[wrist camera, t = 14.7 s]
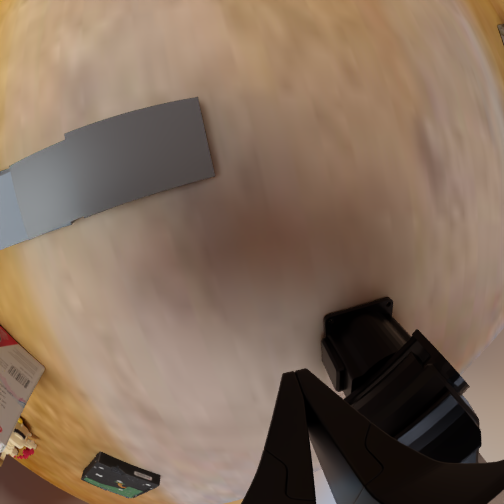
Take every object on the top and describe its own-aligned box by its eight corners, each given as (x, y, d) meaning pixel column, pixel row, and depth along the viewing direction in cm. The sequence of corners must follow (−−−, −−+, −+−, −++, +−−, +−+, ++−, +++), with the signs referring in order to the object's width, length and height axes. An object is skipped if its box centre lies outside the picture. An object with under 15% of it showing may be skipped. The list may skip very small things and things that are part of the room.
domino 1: (120, 120, 14) (9, 166, 11) (138, 196, 16) (28, 240, 13) (120, 125, 15) (17, 166, 13) (137, 195, 17) (36, 235, 14)
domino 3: (197, 97, 14) (64, 133, 11) (215, 176, 16) (84, 217, 13) (191, 103, 16) (69, 137, 13) (207, 176, 17) (88, 214, 15)
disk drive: (99, 447, 28) (83, 469, 31) (95, 461, 25) (80, 480, 28) (161, 471, 31) (133, 489, 34) (160, 485, 28) (131, 500, 31)
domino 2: (57, 153, 14) (-29, 190, 11) (71, 224, 16) (-14, 255, 13) (62, 154, 15) (-20, 188, 12) (75, 220, 17) (-6, 249, 14)
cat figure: (28, 452, 31) (45, 435, 25) (18, 479, 23) (29, 476, 17) (-7, 425, 28) (-5, 395, 22) (-19, 451, 20) (-26, 434, 14)
